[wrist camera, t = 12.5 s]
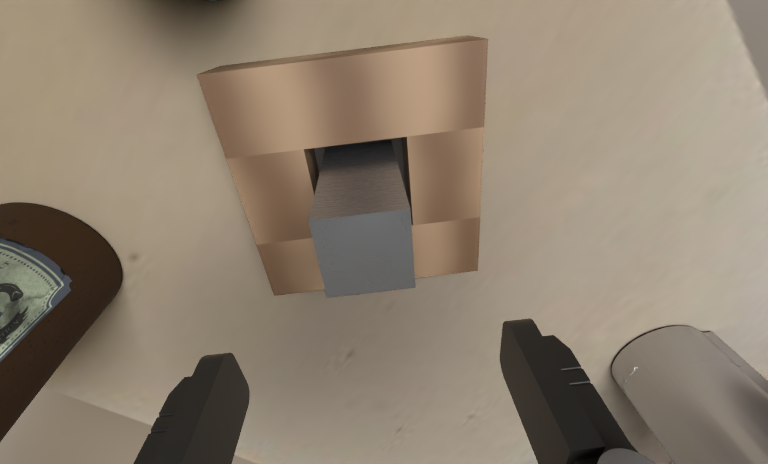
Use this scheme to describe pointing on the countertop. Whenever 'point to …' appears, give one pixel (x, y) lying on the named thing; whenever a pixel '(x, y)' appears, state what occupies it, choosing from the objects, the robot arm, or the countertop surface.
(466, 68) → the socket block
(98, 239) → the brown bottle
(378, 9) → the countertop surface
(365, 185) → the square peg
